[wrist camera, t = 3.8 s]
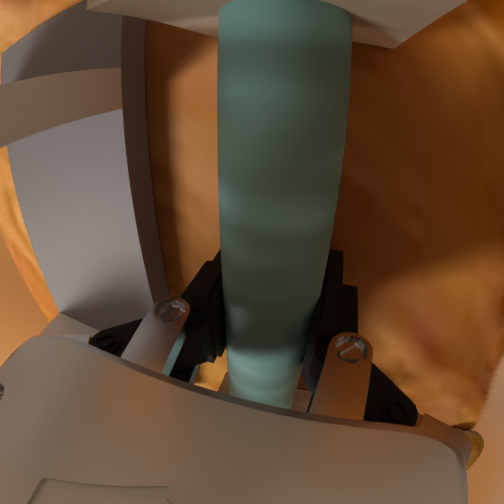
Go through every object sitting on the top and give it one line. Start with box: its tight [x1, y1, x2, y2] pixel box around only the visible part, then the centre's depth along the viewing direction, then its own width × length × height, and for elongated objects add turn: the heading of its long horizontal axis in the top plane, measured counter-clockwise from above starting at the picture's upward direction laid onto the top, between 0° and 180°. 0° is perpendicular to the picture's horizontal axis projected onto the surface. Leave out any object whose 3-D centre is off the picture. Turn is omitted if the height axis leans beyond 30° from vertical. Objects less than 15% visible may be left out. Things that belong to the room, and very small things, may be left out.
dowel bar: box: [86, 0, 467, 412], centre depth 10 cm, size 20×6×6 cm, turn 179°
